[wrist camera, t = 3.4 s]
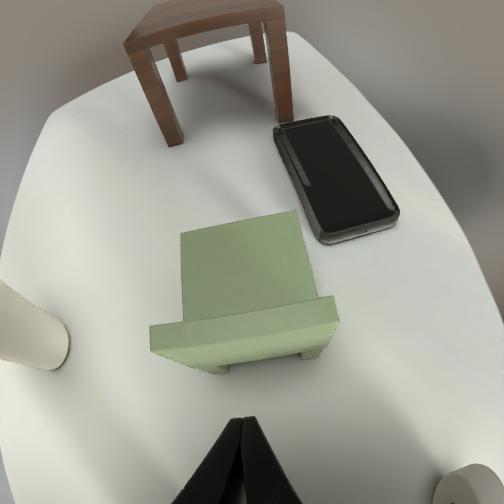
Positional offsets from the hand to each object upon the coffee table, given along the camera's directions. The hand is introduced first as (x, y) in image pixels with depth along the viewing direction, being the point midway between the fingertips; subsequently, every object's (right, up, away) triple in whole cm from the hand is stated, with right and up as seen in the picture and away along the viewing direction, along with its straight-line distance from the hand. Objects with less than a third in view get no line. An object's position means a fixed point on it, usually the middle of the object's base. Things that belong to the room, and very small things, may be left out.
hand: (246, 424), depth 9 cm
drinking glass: (-19, -3, +14) cm, 24 cm away
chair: (0, +1, +13) cm, 13 cm away
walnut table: (-4, +28, +28) cm, 40 cm away
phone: (+8, +13, +18) cm, 24 cm away
